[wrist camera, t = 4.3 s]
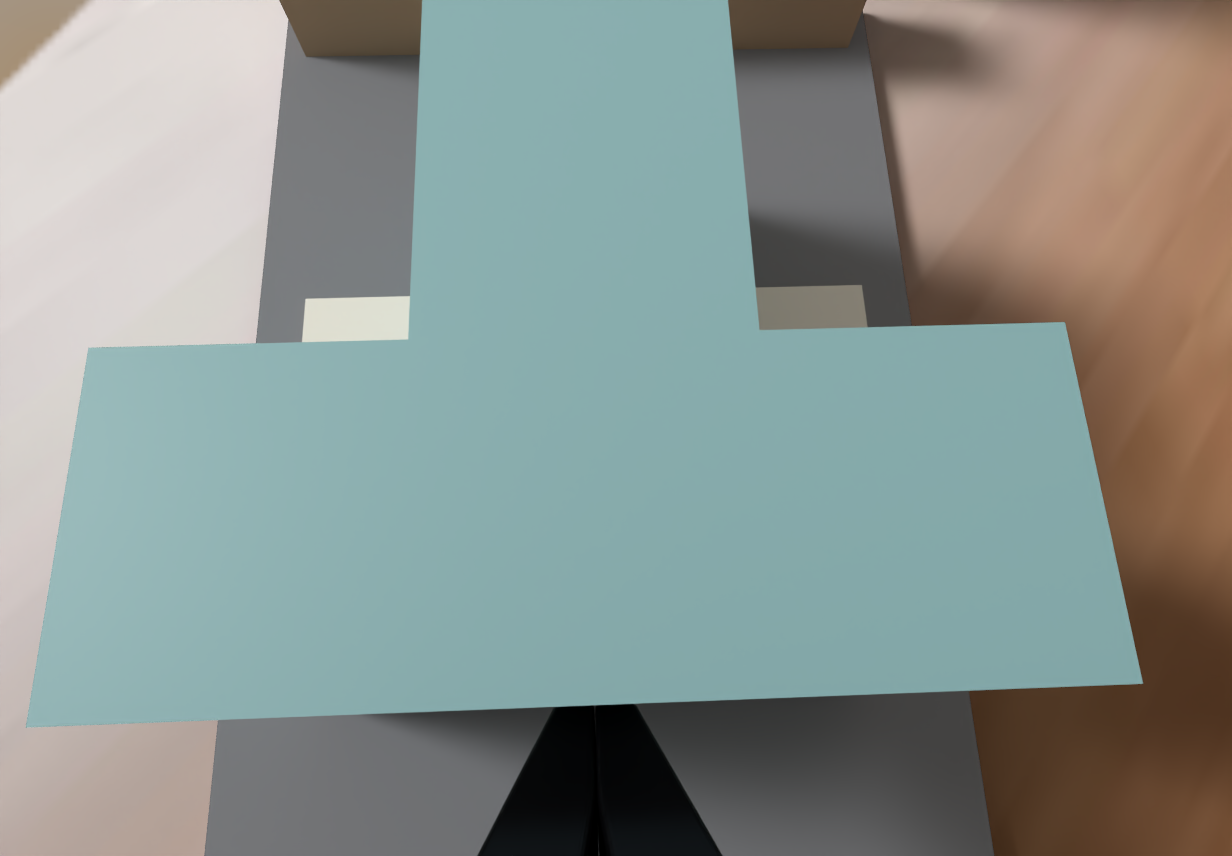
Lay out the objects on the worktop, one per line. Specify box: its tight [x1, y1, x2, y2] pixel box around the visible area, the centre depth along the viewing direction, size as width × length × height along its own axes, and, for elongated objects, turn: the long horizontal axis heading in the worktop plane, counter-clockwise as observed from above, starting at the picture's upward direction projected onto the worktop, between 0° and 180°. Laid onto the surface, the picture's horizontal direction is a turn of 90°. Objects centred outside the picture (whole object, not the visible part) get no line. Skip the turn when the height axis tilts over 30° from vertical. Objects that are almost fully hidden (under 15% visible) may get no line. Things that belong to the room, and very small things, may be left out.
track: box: [204, 0, 994, 856], centre depth 16 cm, size 22×14×4 cm, turn 2°
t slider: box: [26, 0, 1143, 727], centre depth 13 cm, size 11×10×8 cm
